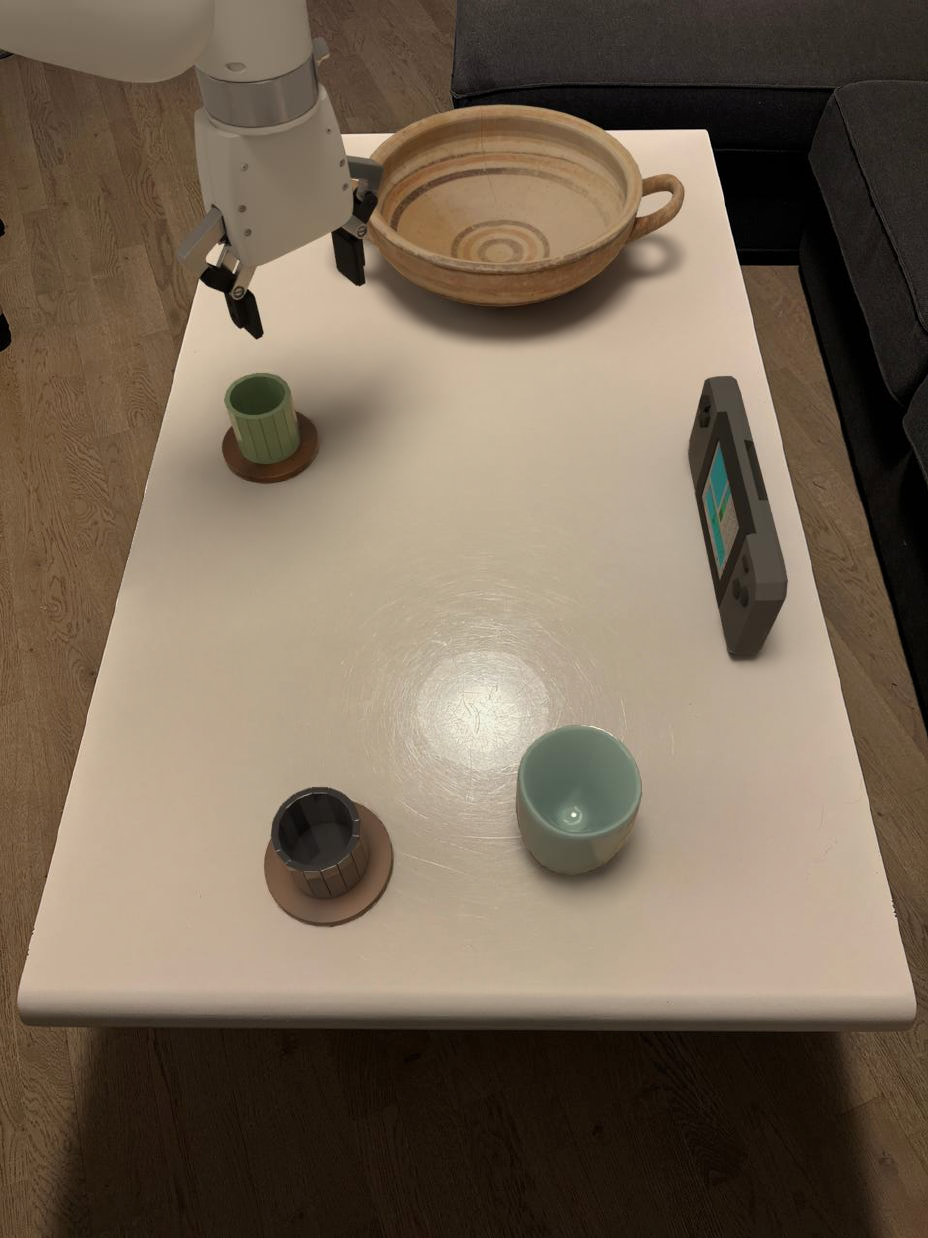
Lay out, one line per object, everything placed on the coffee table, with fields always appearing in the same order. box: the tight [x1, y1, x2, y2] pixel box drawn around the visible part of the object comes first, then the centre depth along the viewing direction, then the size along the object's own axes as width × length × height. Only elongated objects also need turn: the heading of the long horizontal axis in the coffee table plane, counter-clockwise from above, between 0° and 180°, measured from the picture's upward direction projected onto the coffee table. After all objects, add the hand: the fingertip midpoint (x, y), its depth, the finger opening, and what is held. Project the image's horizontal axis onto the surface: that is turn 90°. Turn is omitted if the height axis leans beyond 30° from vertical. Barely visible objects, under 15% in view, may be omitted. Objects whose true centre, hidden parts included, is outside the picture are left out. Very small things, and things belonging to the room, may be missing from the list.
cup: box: [515, 724, 643, 876], centre depth 63 cm, size 8×8×10 cm
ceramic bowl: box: [351, 104, 686, 308], centre depth 99 cm, size 37×29×10 cm
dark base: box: [263, 800, 394, 927], centre depth 66 cm, size 9×9×1 cm
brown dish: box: [221, 410, 320, 484], centre depth 88 cm, size 9×9×1 cm
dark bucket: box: [270, 786, 369, 899], centre depth 64 cm, size 6×7×6 cm
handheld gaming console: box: [688, 375, 789, 655], centre depth 77 cm, size 23×3×10 cm, turn 1°
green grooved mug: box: [223, 372, 301, 464], centre depth 86 cm, size 6×7×6 cm
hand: (301, 302), depth 75 cm, fingers open, 9 cm apart
